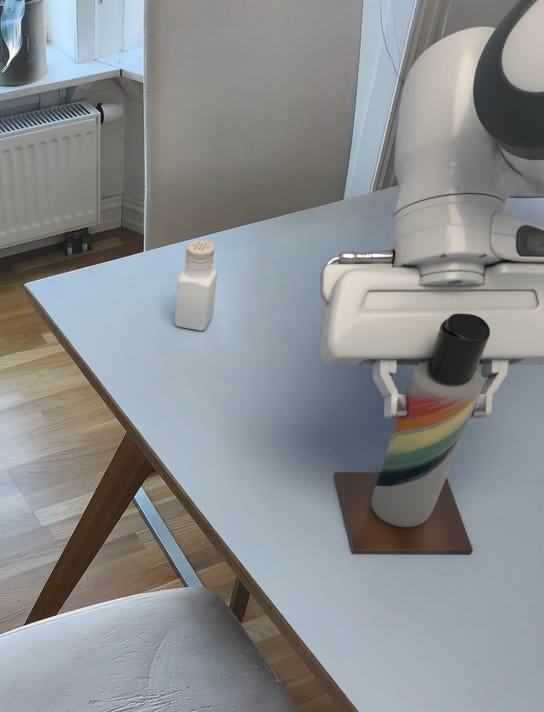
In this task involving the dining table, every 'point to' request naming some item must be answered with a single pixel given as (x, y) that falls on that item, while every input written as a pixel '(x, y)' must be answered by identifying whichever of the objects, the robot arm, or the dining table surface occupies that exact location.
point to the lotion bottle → (432, 423)
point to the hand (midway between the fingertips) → (437, 417)
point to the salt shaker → (196, 287)
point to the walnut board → (382, 538)
